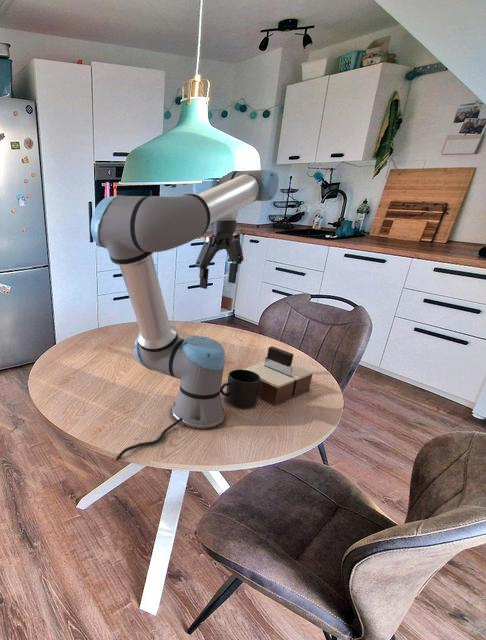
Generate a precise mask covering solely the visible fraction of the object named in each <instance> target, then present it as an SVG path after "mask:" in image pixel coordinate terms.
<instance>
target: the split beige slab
mask: <svg viewBox="0 0 486 640" xmlns="http://www.w3.org/2000/svg"><path fill="white" fill-rule="evenodd" d="M264 363H265V361H262V362H260V363H257V364H254V365H251V366H248V367H246V368H242V369H241V370H249V371H252V372H255V373H257V374H258V375H259V376H260V384H259V391H258V397H257V398H259V399H261V400H263V401H265V402H267V403H269V404H270V405H273V406H276V405H279V404H281V403H283V402H286V401H288V400H290V399H292V397H293V398H295V397H296V396H299V395H301V394H303V393H306V392H308V391H309V390H310V388H311V387H310V386H311V382H312V379H313V375H314V371H312V370H309V369H307V368H304V367H302V366H299V365H297V364H294V363H292V365H291V367H293V369H292V374H291V377H289V376H286V375H284V374H282V373H279V372H277V371H274V370H272V369H270V368H267V367H265V366H264Z"/></svg>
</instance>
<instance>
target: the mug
mask: <svg viewBox="0 0 486 640" xmlns="http://www.w3.org/2000/svg"><path fill="white" fill-rule="evenodd" d="M259 384H260V376H259V375H258V374H257V373H255V372H252V371H249V370H242V369H241V368H240V369H232V370H230V371H229V372H228V375H227V382H225V383H222V384H221V392H220V395H221V396H223V397H225V401H226V403H227V404H228V405H230V406H231V407H235V408H238V409H252V408H254V407H255V406H256V405H257V402H258V398H259V397H258V391H259ZM225 387H226V391H224V388H225Z"/></svg>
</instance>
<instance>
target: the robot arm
mask: <svg viewBox="0 0 486 640" xmlns="http://www.w3.org/2000/svg"><path fill="white" fill-rule="evenodd" d="M279 178H280V177H279V173H278V172H277V171H276V170H274V169H265V168H264V169H254V170H253V169H251V170H242V171H232V172H230V173H228V174H227V175H225V176H223V177H222V178H208V179H204V180H213V181H202V183H194V182H193V183H192V190H193V193H192V192H190V193H189V192H188V193H185V194H183V195H180V196H179V195H178V196H164V195H163V196H161V195H151V196H150V195H149V196H148V195H143V196H141V195H124V194H118V195H114V196H113V195H112V196H107V197H105V198H103V199H102V200H101V201H99V202H98V203H97V205H96V207H95V208H94V210H93V215H92V217H91V222H90V231H91V236H92V239H93V241H94V242H95V243H96V245H98V246H100V247H101V248H106V250H107V253H108V256H109V258H110V262H111V263H113V264H114V265H117V266H118V267H119V269H120V272H121V276H122V279H123V282H124V286H125V288H126V291H127V294H128V298H129V300H130V303H131V307H132V309H133V313H134V316H135V319H136V322H137V326H138V328H139V332H138V334H137V337H136V339H135V341H134V346H135V347H134V348H133V354H134V357H135V360H136V361H137V363H138V364H139V365H141V366H142V367H145V368H146V369H148V370H150V371H155V372H158V373H161V374H164V375H165V376H169V377H172V378H175V379H177V380H179V390H178V393H177V395H176V397H175V400H174V401H173V404H172V407H171V415H172V417H173V419H174V420H175V421H174V422H173V423H172V424H170V425H169V426H167V427H166V428H165V429H164V430H163V431H162V432H161V434H160V435H159V436H158V438H157V439H155V440H150V441H146V442H140V443H137V444H134V445H131V446H128V447H126V448H124V449H123V450H122V451H120V452H119V453H118V455H117V457H116V458H115V461H119V460H120V459H121V458H122V456H123V455H124V454H125V453H126V452H128V451H131V450H134V449H136V448H139V447H145V446H152V445H155V444H158V443H159V442H160V441H162V439H163V437H164V436H165V434H166V433H167V432H168V431H169V430H171V429H172V428H173V427H176V425H178V424H181V425H182V426H185V427H188V428H191V429H199V430H208V429H212V428H216V427H218V426H221V424H222V423H223V422H224V420H225V409H224V406H223V399H222V394H221V387H222V385H223V377H224V376H223V375H224V367H225V364H226V361H225V357H226V356H225V353H226V352H225V348H224V347H223V345H222V344H221V343H220V342H218V341H217V340H215V339H213V338H210V337H209V336H208V337H207V336H203V335H201V336H199V335H189V336H187V337H185V338H182V337H179V334H178V330H177V328H176V325H174V324H173V323H171V322H170V319H169V316H168V312H167V307H166V304H165V301H164V297H163V292H162V288H161V284H160V281H159V277H158V272H157V269H156V265H155V261H154V257H153V255H154V253H160V252H166V251H170V250H173V249H175V248H178V247H181V246H184V245H187V244H188V243H190V242H192V241H194V240H196V239H198V238H200V237H203V235H205V234H206V233H207V232H208V230H209V228H210V227H211V232H212V236H210V235H205V237H204V241H203V245H202V247H201V248H200V249H201V250H200V251H199V254H198V256H197V259H196V262H195V263H194V266H195V267H197V268H198V269H199V288H201V289H205V290H206V289H208V283H209V271H210V269H209V268H208V267H209V265H210V264H211V262H212V261H213V259H214V257H215V256H216V254H217V253H218V252H220V251H222V250H225V251H226V253H227V255H228V257H229V259H230V261H231V263H229V269H228V279H227V283H230V284H236V282H237V274H238V271H239V265H241V264H242V262H243V261H244V259H245V257H244V254H243V249H242V243H241V234H240V233H235V232H237V231H236V230H237V222H238V221H237V220H236V219H237V218H238V214H239V210H241V209H243V208H245V207H246V206H248V205H250V204H252V203H255V202H267V201H272V200H273V199H274V198H275V196H276V195H277V192H278V189H279V183H280V181H279V180H280V179H279ZM217 180H219V181H217Z"/></svg>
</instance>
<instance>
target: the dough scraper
mask: <svg viewBox="0 0 486 640" xmlns="http://www.w3.org/2000/svg"><path fill="white" fill-rule="evenodd" d="M293 359H294V353H292V352H289V351H287V350H284V349H281V348H278V347H275V346H273V345H272V346H269V347H268V348H267V354H266V356H265V358H264V362H265V363H264V366H265V367H267V368H270V369H272V370H274V371H277V372H279V373H282V374H284V375H286V376H289V377H291V374H292V369H293V367H291V365H292V364H293Z"/></svg>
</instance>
